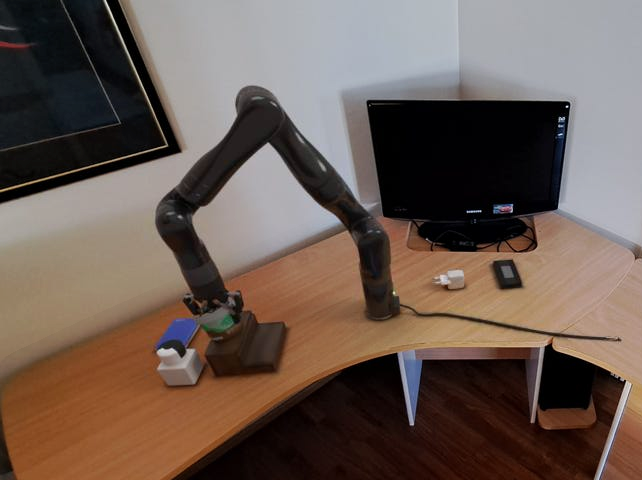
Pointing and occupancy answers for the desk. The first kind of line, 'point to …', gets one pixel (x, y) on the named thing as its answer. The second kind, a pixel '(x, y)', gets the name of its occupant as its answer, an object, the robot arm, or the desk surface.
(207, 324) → the food container
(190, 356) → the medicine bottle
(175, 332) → the hard drive
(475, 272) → the desk surface
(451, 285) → the power adapter
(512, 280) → the vhs tape
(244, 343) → the desk shelf
